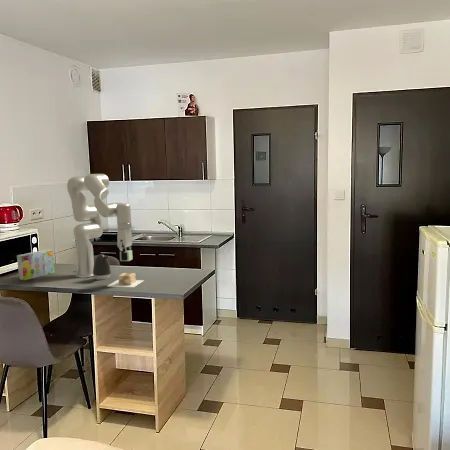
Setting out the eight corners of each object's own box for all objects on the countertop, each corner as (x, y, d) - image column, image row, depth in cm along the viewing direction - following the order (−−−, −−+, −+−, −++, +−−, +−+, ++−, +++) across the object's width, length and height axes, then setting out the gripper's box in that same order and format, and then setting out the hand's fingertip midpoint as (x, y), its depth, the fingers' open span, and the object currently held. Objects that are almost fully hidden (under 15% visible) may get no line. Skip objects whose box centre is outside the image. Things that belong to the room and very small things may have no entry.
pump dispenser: (102, 282, 262) (101, 256, 260) (89, 280, 267) (88, 254, 265) (115, 278, 271) (114, 253, 269) (102, 276, 276) (100, 251, 274)
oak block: (118, 284, 252) (118, 275, 251) (124, 281, 259) (123, 272, 258) (130, 285, 250) (130, 276, 250) (135, 281, 257) (135, 273, 257)
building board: (106, 288, 249) (106, 286, 249) (118, 281, 264) (117, 279, 264) (134, 288, 246) (134, 287, 246) (144, 282, 260) (144, 280, 260)
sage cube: (120, 260, 251) (119, 251, 250) (124, 259, 256) (123, 250, 255) (129, 261, 250) (128, 251, 249) (132, 259, 255) (132, 250, 254)
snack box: (49, 272, 292) (48, 249, 290) (55, 273, 288) (53, 249, 287) (18, 279, 275) (16, 254, 273) (23, 280, 271) (21, 255, 269)
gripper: (124, 224, 259) (126, 256, 262) (111, 228, 243) (113, 262, 245) (136, 224, 258) (138, 256, 260) (124, 228, 241) (126, 262, 244)
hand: (126, 258), depth 253 cm, fingers closed on sage cube, 4 cm apart
